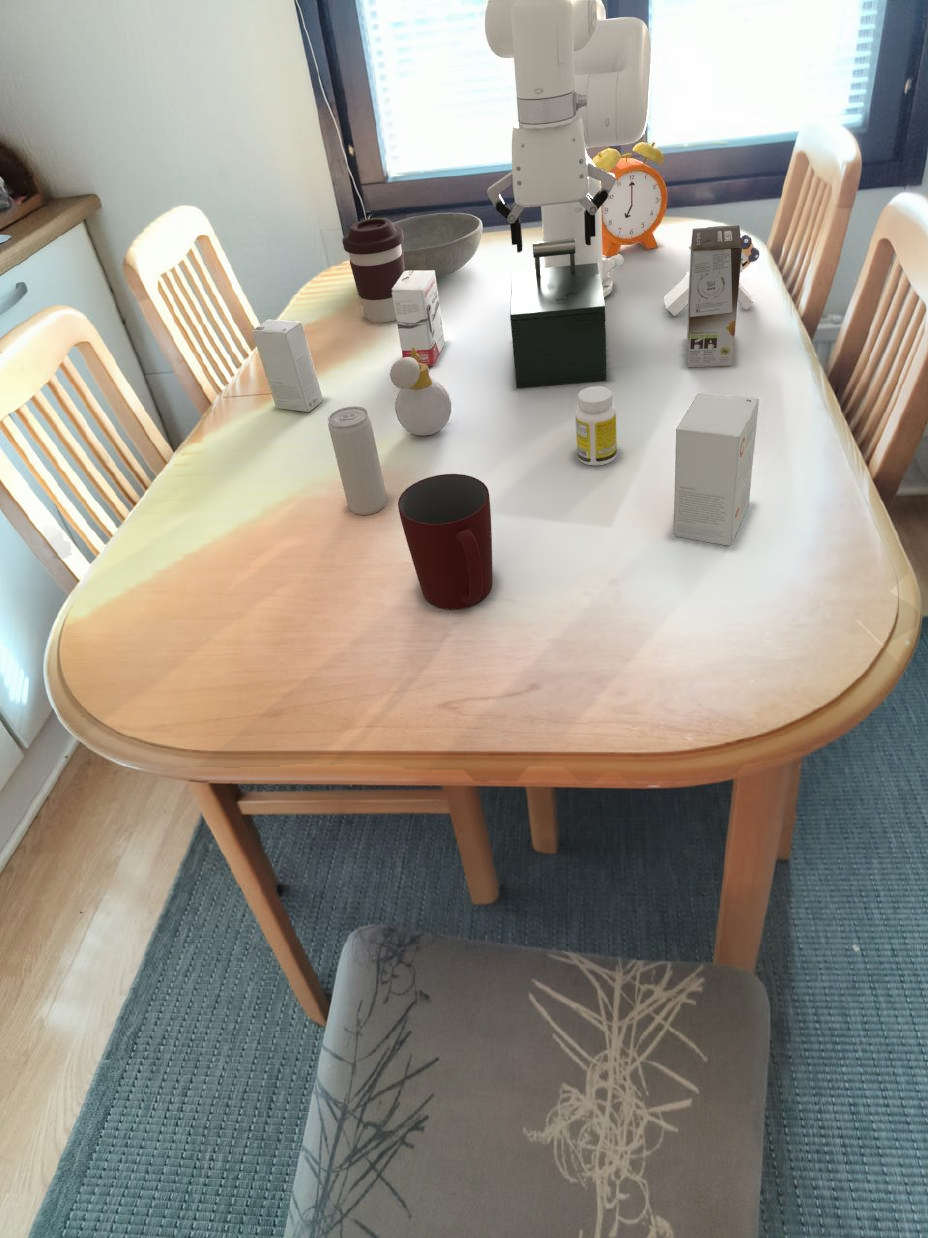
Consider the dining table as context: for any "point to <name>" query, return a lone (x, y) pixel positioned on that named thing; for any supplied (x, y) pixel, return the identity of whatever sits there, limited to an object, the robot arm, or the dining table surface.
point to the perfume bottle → (419, 397)
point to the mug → (449, 538)
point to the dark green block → (556, 285)
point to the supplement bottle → (596, 426)
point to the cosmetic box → (288, 365)
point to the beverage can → (357, 460)
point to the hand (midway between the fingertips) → (553, 245)
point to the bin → (559, 349)
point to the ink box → (419, 315)
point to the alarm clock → (632, 198)
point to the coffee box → (713, 295)
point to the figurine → (681, 291)
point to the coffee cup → (375, 265)
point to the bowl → (439, 241)
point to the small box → (714, 467)
